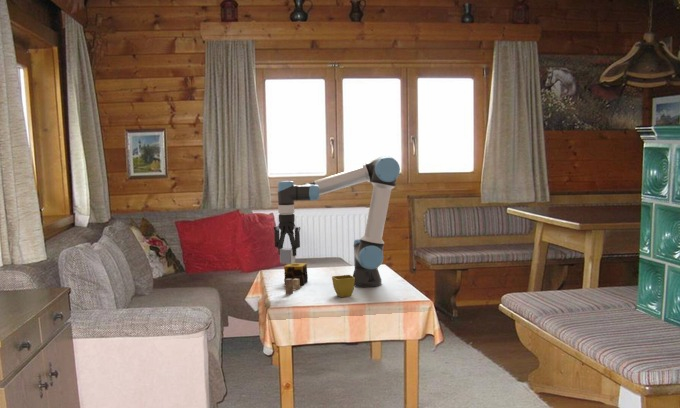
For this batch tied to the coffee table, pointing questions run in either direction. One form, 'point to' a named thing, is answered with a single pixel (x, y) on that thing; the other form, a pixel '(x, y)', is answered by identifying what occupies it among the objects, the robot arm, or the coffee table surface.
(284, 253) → the grey matte cube
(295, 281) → the oak post
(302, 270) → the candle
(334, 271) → the coffee table surface
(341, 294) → the flower pot
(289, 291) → the walnut post
